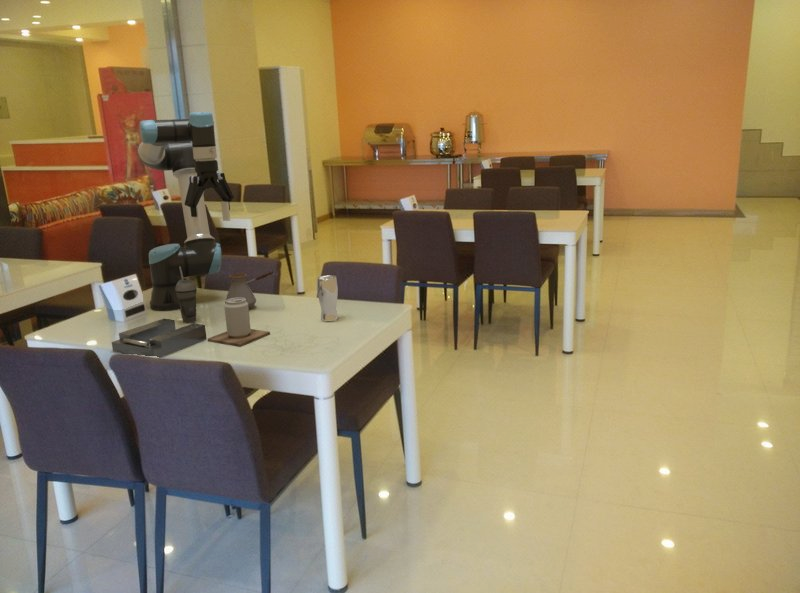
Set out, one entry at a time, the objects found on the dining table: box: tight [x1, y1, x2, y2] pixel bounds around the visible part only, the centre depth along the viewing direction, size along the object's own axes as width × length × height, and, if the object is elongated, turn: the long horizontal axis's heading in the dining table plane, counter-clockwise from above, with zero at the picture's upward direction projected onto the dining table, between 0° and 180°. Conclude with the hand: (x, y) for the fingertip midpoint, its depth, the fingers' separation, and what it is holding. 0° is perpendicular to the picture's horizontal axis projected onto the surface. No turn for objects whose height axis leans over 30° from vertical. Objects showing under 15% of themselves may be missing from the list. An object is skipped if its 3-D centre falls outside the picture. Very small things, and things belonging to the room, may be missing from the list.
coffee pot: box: [224, 269, 278, 310], centre depth 257 cm, size 21×12×15 cm, turn 76°
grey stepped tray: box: [111, 318, 208, 358], centre depth 220 cm, size 19×21×5 cm
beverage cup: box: [175, 266, 198, 324], centre depth 243 cm, size 7×7×20 cm
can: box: [223, 298, 252, 338], centre depth 223 cm, size 8×8×12 cm
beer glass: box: [316, 274, 339, 322], centre depth 240 cm, size 7×7×15 cm
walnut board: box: [207, 328, 271, 348], centre depth 225 cm, size 14×14×1 cm
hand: (212, 223), depth 236 cm, fingers open, 13 cm apart
